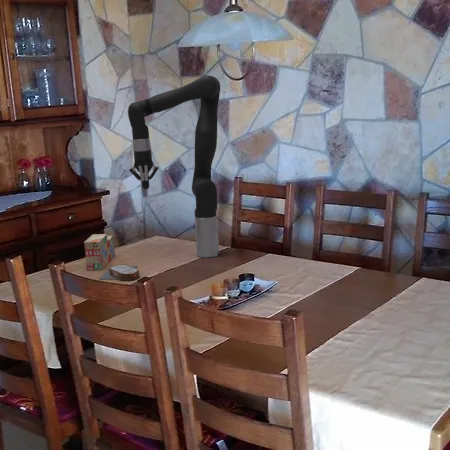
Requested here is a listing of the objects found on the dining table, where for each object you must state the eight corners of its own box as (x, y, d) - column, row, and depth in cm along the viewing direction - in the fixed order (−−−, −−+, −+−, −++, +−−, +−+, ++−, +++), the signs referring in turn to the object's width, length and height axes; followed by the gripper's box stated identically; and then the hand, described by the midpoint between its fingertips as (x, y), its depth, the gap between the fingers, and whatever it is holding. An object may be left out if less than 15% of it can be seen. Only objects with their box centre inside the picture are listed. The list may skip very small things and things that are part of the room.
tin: (123, 268, 256) (105, 275, 251) (122, 261, 255) (104, 267, 250) (143, 276, 245) (125, 283, 239) (142, 269, 244) (124, 275, 239)
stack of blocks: (101, 256, 278) (98, 228, 275) (115, 255, 277) (112, 228, 275) (86, 270, 257) (83, 241, 254) (101, 270, 257) (99, 241, 254)
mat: (137, 266, 260) (137, 265, 260) (126, 279, 243) (126, 278, 243) (111, 266, 261) (111, 265, 261) (99, 279, 245) (98, 278, 244)
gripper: (158, 147, 272) (162, 186, 276) (128, 148, 273) (132, 188, 278) (156, 149, 265) (159, 190, 269) (125, 151, 266) (129, 191, 270)
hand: (146, 189), depth 273 cm, fingers closed
